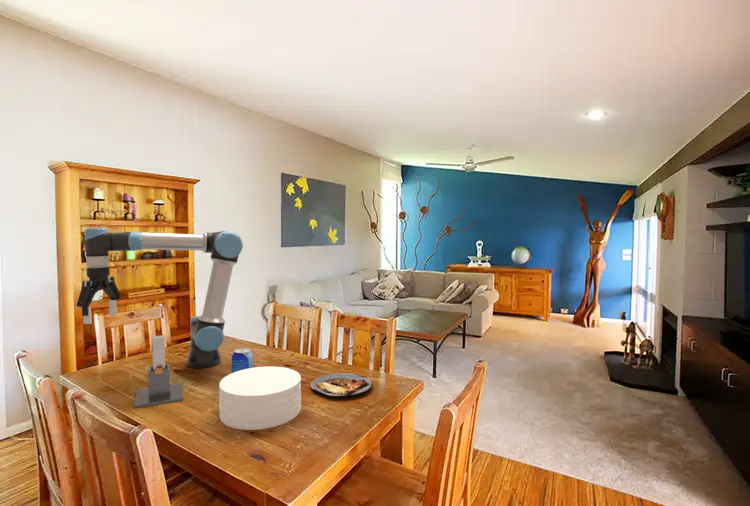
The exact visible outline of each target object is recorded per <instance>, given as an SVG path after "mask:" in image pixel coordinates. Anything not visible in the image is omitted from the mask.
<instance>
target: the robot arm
mask: <svg viewBox="0 0 750 506" xmlns="http://www.w3.org/2000/svg"><path fill="white" fill-rule="evenodd" d="M243 245H244V242H243V239H242V237H241V236H240V235H239V234H237V233H235V231H231V230H229V231H228V230H226V231H225V230H222V231H215V232H204V233H202V234H200V233H199V234H198V233H197V234H193V233H166V232H165V233H164V232H137V231H136V232H135V231H123V232H109V231H108V228H107V227H87V228H86V229H85V230H84V249H85V259H86V260H85V263H86V264H85V265H86V267H87V268H86V277H87V278H89V279H88V280H82V281H81V285H82V286H81V290H80V293H79V296H78V299H77V302H76V307H78V308H81V315H82V318H83V319H82V320H83V322H82V323H83V325H88V324H89V325H91V324H93V322H92V321H93V320H92V319H93V317H92V307H91V306H90V305H91V303H92V301H93V299H94V297H95V295H96V294H97V293H98V292H99V291H103V292H104V293H105V295H106V296H107V297H108V298H109V300H108V309H109V317H116V316H118V311H117V310H118V300H120V298H121V293H120V291H119V289H118V286H117V284H116V282H115V277H114V276H110V273H111V271H110V267H109V266H110V254H109V253H110V252H128V251H129V252H135V251H141V250H146V251H148V250H153V251H157V250H158V251H161V250H162V251H202V252H203V253H204V254H205V253H206V254H207V253H208V254H209V253H210V260H211V261H212V265H211V266H212V267H211V272H210V277H209V282H208V285H207V289H206V295H205V300H204V304H203V305H204V306H203V311H202V314H201V315H197V316H193V317H191V318H190V323H189V324H190V350H189V353H188V356H187V360H186V366H187V367H189V368H192V369H205V368H209V367H210V368H211V367H215V366H217V365H219V364H220V363H222V355H221V354H220V351H219V348H220V347H221V345H222V344H223V343H224V339H225V334H224V333H225V332H224V328H225V324H226V320H225V319H224V317H223V316H224V311H225V305H226V302H227V296H228V291H229V286H230V282H231V278H232V277H231V276H232V273H233V268H234V266H235V265H236V264H238V260H239V256H240V254H241V253H242V251H243V248H244V246H243Z"/></svg>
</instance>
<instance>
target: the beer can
mask: <svg viewBox="0 0 750 506" xmlns="http://www.w3.org/2000/svg"><path fill="white" fill-rule="evenodd" d="M249 368H254V353H253V351H252V349H251V348H249V347H239V348H236V349H234V350H233V353H232V355H231V374H232V373H234V372H237V371H240V370H244V369H249Z"/></svg>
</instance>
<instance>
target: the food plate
mask: <svg viewBox="0 0 750 506" xmlns="http://www.w3.org/2000/svg"><path fill="white" fill-rule="evenodd" d="M337 379H349V380H352V381H351V382H350V381H349V382H347V381H345V380H337ZM331 380H332V381H331ZM356 380H357V381H358V380H359V381H361V382H360V383H359V382H357V381H356ZM329 381H331V382H332V383H333V384H332V383H331V382H329ZM326 382H328V383H326ZM346 382H347V383H348V384H347V383H346ZM334 384H336V385H339V386H347V387H346V388H348V389H346V388H342V387H339V386H336V385H334ZM310 387H311V389H312V390H314V391H317V392H318V393H321V394H324V395H326V396H329V397H350V396H357V395H359V394H362V393H364V392H368V391H369V390H370V389H371V387H373V382H372V381H371V380H370V379H369V378H368V377H364V376H362V375H360V374H355V373H350V372H348V373H347V372H344V373H343V372H342V373H337V372H336V373H330V374H328V373H327V374H325V375H321V376H320V377H319V376H318V377H317V378H315V379H314V380H313V381H311V383H310ZM358 389H360V390H359V391H355V390H358Z"/></svg>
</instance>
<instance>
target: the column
mask: <svg viewBox="0 0 750 506" xmlns="http://www.w3.org/2000/svg"><path fill="white" fill-rule="evenodd" d="M165 339H166V335H165V334H164V335H154V336H152V366H153V371H155V369H157V368H163V370H166V368H165V365H166V340H165Z"/></svg>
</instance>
